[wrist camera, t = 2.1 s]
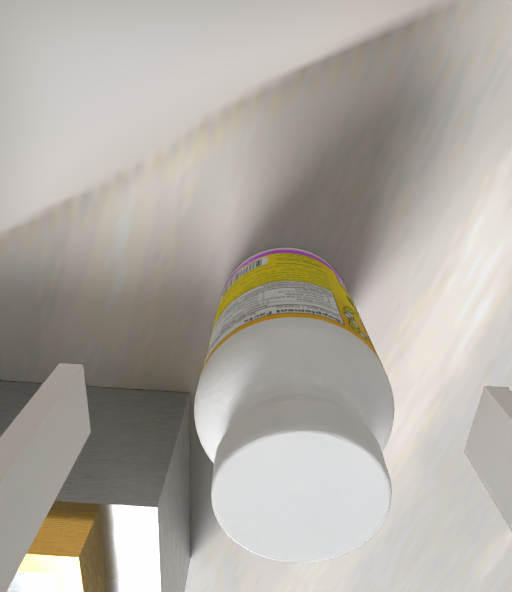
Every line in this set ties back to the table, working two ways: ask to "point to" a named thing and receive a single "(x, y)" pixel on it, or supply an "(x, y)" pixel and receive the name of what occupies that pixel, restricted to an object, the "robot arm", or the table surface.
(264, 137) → the table surface
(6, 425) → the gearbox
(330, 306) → the supplement bottle
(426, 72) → the table surface
